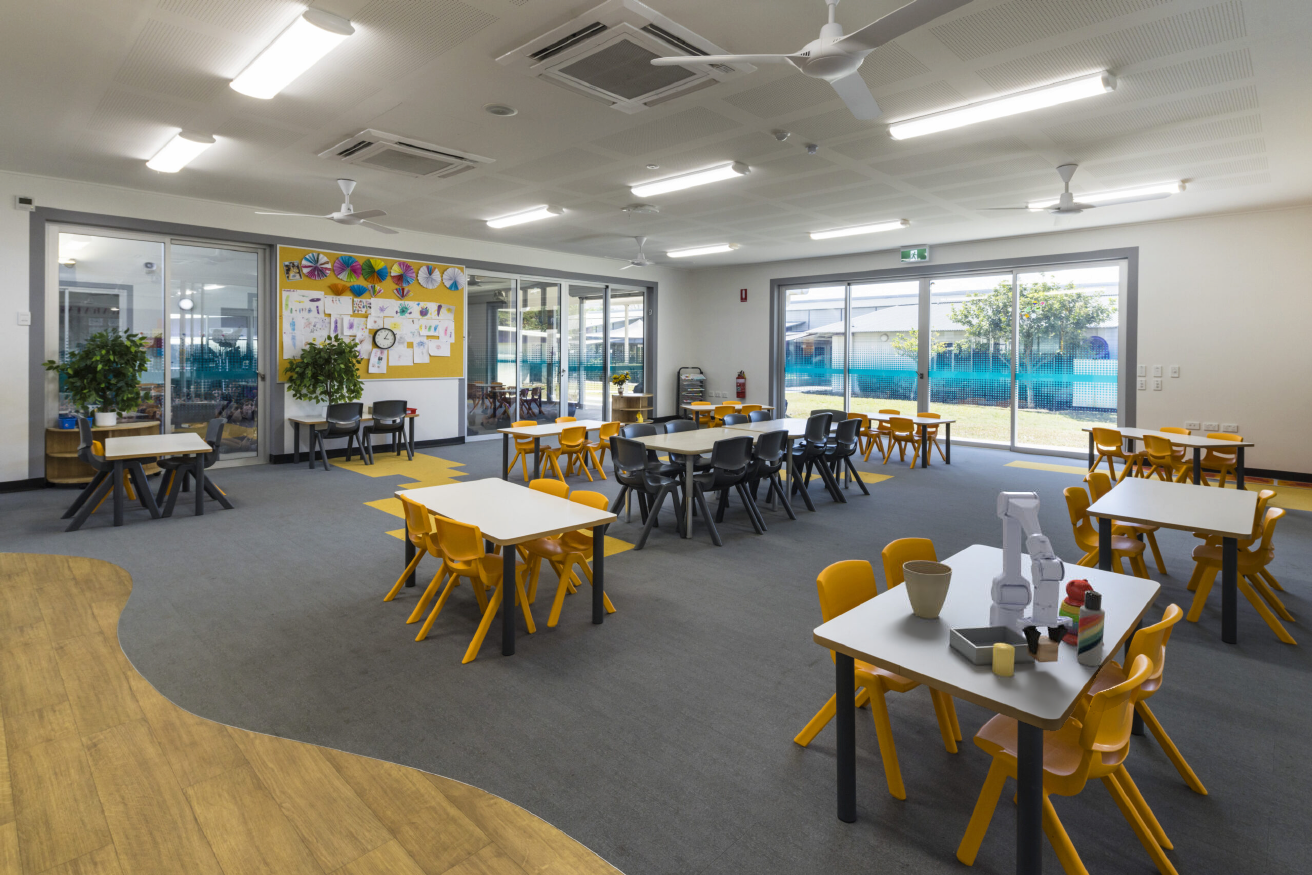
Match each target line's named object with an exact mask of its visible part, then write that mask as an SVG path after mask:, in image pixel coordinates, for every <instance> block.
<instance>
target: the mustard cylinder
mask: <svg viewBox="0 0 1312 875" xmlns="http://www.w3.org/2000/svg"><path fill="white" fill-rule="evenodd" d="M1014 654H1015V648H1014V647H1013V646H1011V645H1009V644H1005V643H995V644H994V646H993V665H992V670H991V671H992V672H993V673H994V674H995V675H996V676H1001V677H1006V678H1007V677H1008V678H1009V677H1012V676H1014V672H1015V671H1014V668H1015V663H1014Z"/></svg>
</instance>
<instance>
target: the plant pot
mask: <svg viewBox="0 0 1312 875" xmlns="http://www.w3.org/2000/svg"><path fill="white" fill-rule="evenodd" d="M902 571H903V572H902V573H903V579H904V584H905V589H906V591H907V596H908V600H909V603H910V606H911V609H912V611H913V614H914V615H915V616H916V615H917V616H916V617H919V618H922V619H928V620H929V619H930V620H932V619H937V618H938V617H939V615H940V614H941V611H942V608H943V607H944V605H945V604H944V603H945V601H946V598H947V595H948V592H949V589H950V585H951V579H952V575H953V568H952V567H951V566H949V565H948V564H945V563H942V562H938V561H937V562H936V561H933V560H931V561H930V560H910V561H906V562H904V563H903V564H902Z"/></svg>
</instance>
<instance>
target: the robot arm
mask: <svg viewBox="0 0 1312 875" xmlns="http://www.w3.org/2000/svg"><path fill="white" fill-rule="evenodd" d="M996 502H997V503H996V513H997V517H998V518H1000V519H1002V572H1001V573H999V574H998V575H996V576H995V577H993V578H992V581H991V582H992V583H991V584H992V585H991V587H990V596H991V600H992V602H993V603H991V605H990V607H989V620H988V621H989V622H988V623H989V624H988V625H986V627H988V626H1007V627H1009V628H1011V629H1012V630H1014V631H1015V632H1017V633H1018V634H1020V635H1022V636H1023V637H1025V638H1026V640H1027V643H1028V647H1029V652H1031V653H1032V654H1034V655H1035V654H1037V648H1038V641H1039V638H1040V636H1042V632H1041V631H1039V630H1038V628H1039V627H1040V628H1041V627H1042V628H1043V627H1047V633H1048V634H1047V635H1048V636H1047V637H1049V638H1051V639H1052V640H1054V641H1056V642H1057V643H1059V645H1060V644H1061V642H1062V641H1063V640H1062V639H1063V637H1064V636H1065V635H1066V634H1067V633H1068V629H1067V628H1065V625H1067V626H1072V622H1073V619H1071V618H1069V617H1061V616H1059V597H1060V595H1059V594H1060V582H1062V581H1064V579H1065V577H1066V576H1065V575H1066V571H1065V570H1066V569H1065V565H1064V562H1063V560H1062V559H1061V558H1059V555H1055V553H1054V550H1053V547H1052V544H1051V541H1050V540H1049V538H1048V537H1047V536H1045V535H1044V534H1043V532H1042V529H1041V525H1040V522H1039V517H1038V514H1039V512H1040V511H1039V510H1040V507H1041V500H1040V496H1039V495H1038V494H1037V492H1035V491H1031V492H1029V491H1028V492H1025V491H1022V492H1021V491H1017V492H1016V491H1001V492H1000V493H999V494H998V496H997V499H996ZM1022 529H1023V531H1024V533H1025V534H1026V537H1027V539H1026V540H1025V546H1026V549H1027V552H1028V554H1029V558H1030V560H1031V565H1030V572H1031V579H1032V580H1031V582H1030V580H1028V579H1027V578H1026V577H1025V576H1023V574H1022ZM1031 583H1032V585H1033V595H1032V589H1031ZM1032 599H1033V600H1032ZM1031 603H1032V613H1031V614H1032V615H1030V616H1027V617H1024V616H1025V609H1027V607H1028V606H1030V604H1031Z"/></svg>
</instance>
